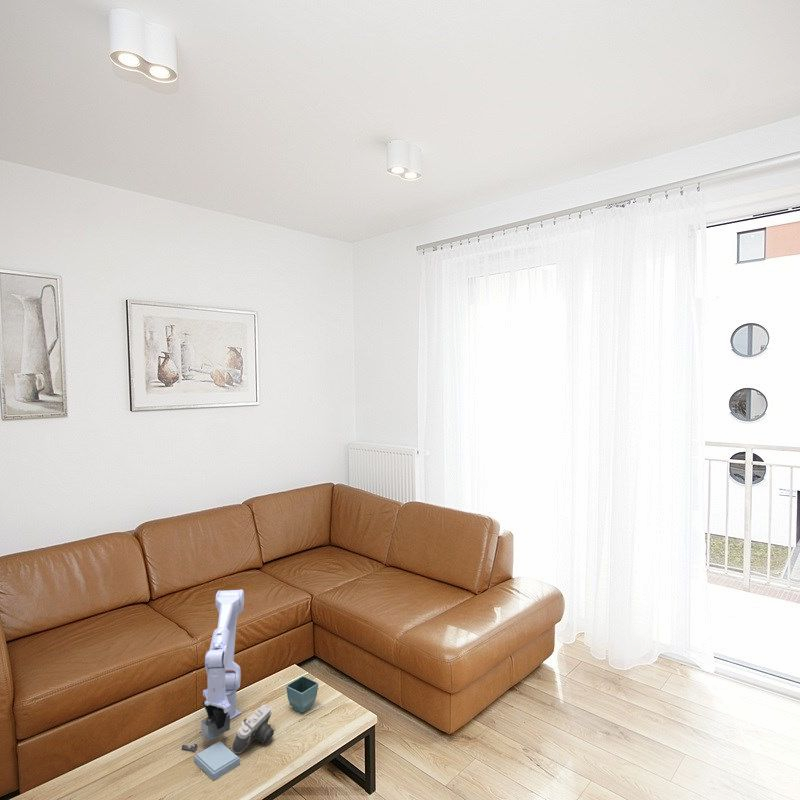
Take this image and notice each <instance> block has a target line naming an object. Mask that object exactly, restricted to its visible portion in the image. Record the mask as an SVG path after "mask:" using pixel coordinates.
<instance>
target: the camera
mask: <svg viewBox="0 0 800 800" xmlns="http://www.w3.org/2000/svg"><path fill="white" fill-rule="evenodd" d="M272 713H273V707H272V706H271V705H270V704H262V705H261V706H259V707H258V709H257V710H256V711H255V712H253V713H252V714H251V715H250V716H249V717H248V718H244V719H243V721H241V726H240V727H239V728H238V730H237V733H236V734H235V738H234V740H233V743H232V744H231V751H232V752H233V753H234V754H237V755H238V754H241V753H242V752H243V751H244V750H245V749H247V747H248V746H249V745H250V744H251V743H252V742H253V741H254V740H255V739H257V740H258V742H260V743H262V744H263V745H265V744H268V743H269V742H270V740H271V739H272V738H273V736H274V732H275V730H274V728H273V727H272V726H271V724H268V722H269V721H270V717H271V716H272Z"/></svg>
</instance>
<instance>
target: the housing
mask: <svg viewBox="0 0 800 800" xmlns="http://www.w3.org/2000/svg"><path fill="white" fill-rule="evenodd" d="M230 730H231V719H230V715H229V714H227V716H226V720H225V724H224V727H222V728H220V729H217V725H216V718H215V715H214V714H213V715H211V716H210V717H208V716H207V717H206V718H204V719H202V720H200V733H201V734H200V735H201V737H202V738H204V739H205V740H206V741H207V742H209V741H211V740H213V739H215V738H217V737H218V736H221V735H222V734H224V733H227V732H228V731H230Z"/></svg>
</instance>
